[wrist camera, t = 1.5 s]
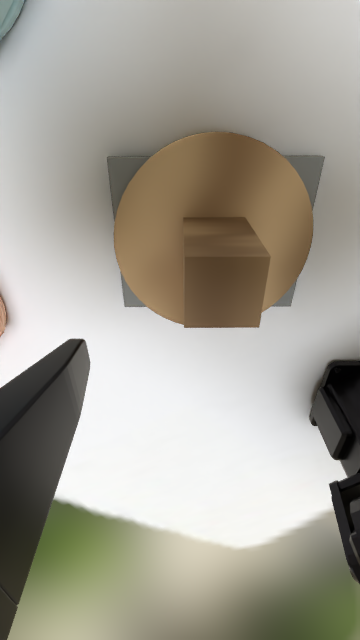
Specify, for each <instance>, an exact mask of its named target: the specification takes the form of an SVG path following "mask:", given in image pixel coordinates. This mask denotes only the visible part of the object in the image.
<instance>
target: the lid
mask: <svg viewBox="0 0 360 640" xmlns="http://www.w3.org/2000/svg"><path fill="white" fill-rule="evenodd" d="M312 236H313V214H312V206H311V203H310V199H309V195H308V192H307V190H306V188H305V185H304V183H303V181H302V179H301V178H300V176H299V175H298V173H297V171H296V170H295V169H294V168H293V166H292V165H291V164H290V163H289V162H288V160H287V159H285V158H284V157H283V156H282V155H281V154H280V153H278V152H277V151H276V150H274V149H273V148H271V147H269V146H268V145H266V144H265V143H263V142H260V141H258V140H255V139H253V138H250V137H247V136H244V135H239V134H235V133H228V132H207V133H200V134H195V135H191V136H187V137H185V138H182V139H180V140H177V141H175V142H173V143H171V144H169V145H167V146H166V147H164V148H162V149H161V150H159V151H158V152H157V153H156V154H154V155H153V156H152V157H151V158H149V159H148V160H147V161H146V162H145V164H144V165H143V166H142V167H141V168H140V169H139V170H138V171H137V173H136V174H135V176H134V177H133V178H132V180H131V181H130V182H129V184H128V186H127V188H126V190H125V192H124V194H123V195H122V198H121V201H120V203H119V206H118V209H117V214H116V218H115V225H114V248H115V253H116V258H117V262H118V265H119V268H120V271H121V273H122V275H123V277H124V279H125V281H126V283H127V284H128V286H129V287H130V289H131V290H132V292H133V293H134V294H135V295H136V296H137V297H138V299H139V300H140V301H141V302H143V303H144V304H145V305H146V306H147V307H148V308H150V309H151V310H152V311H154V312H155V313H157V314H159V315H160V316H162V317H164V318H166V319H168V320H171V321H173V322H176V323H179V324H183V325H184V328H230V327H259V325H260V319H261V313H262V312H263V311H265V310H266V309H268V308H269V307H271V306H272V305H273V304H274V303H276V302H277V301H278V300H279V299H280V298H281V297H282V296H283V295H284V294H285V293H286V292H287V291H288V290H289V289H290V287H291V286H292V285H293V283H294V282H295V281H296V279H297V278H298V276H299V274H300V273H301V271H302V269H303V267H304V264H305V262H306V260H307V257H308V254H309V251H310V247H311V242H312Z"/></svg>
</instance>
